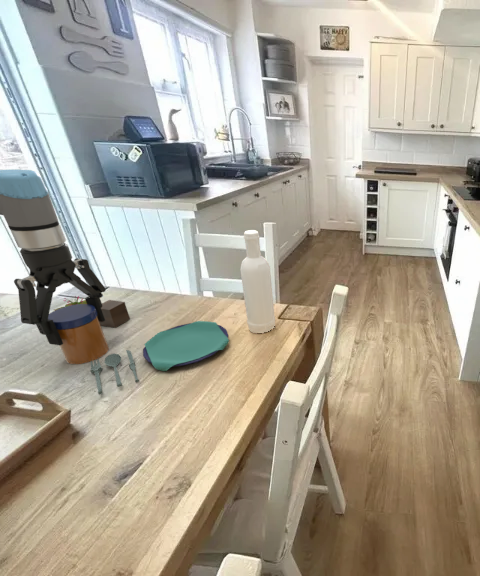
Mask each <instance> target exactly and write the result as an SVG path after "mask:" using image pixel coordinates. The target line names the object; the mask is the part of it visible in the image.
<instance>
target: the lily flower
mask: <svg viewBox="0 0 480 576" xmlns="http://www.w3.org/2000/svg"><path fill="white" fill-rule="evenodd" d="M63 299H64V300H63V302H66V304H65V305H64V306H60V307H57V308H54V309H53V311H55V310H58V309H60V308H63V307H67V306H71V305H77V304H87V303H86V300H85V299H84V298H81V300H79V299H80V295H78V296H77V295H75V296H74V299H73V300H70V299H68V298H66V297H63Z"/></svg>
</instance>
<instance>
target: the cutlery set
mask: <svg viewBox="0 0 480 576" xmlns="http://www.w3.org/2000/svg"><path fill="white" fill-rule="evenodd" d="M229 342H230V340H229V333H228V330H227V328H225V327H223V326H222V325H220V324H218V323H217V322H216V321H206V320H205V321H204V320H197V321H193V322H189V323H184V324H180V325H176V326H174V327H170V328H168V329H165V330H162V331H159V332H156V333H155V334H154V336H152V337H151V338H150V339H149V340H147V341H146V342H145V343H144V348H143V351H142V352H143V353H142V357H143V358H144V359H145V360H146V361H147V362H148V363H150V364H152V366H153V368H154V369H155V370H158V371H162V372H167V371H168V370H169V369H171V368H173V367H182V366H187V365H192V364H195V363H198V362H201V361H204V360H205V359H208V358H210V357H212V356H213V355H215V354H216V353H218V352H220V351H223V350H224V349H225V348H226V347H227V345H229ZM125 352H126V355H127V358H128V361H129V364H128V367H129V369H130V370H131V371H132V374H133V376H134V379H135V380H134V382H135V383H139V382H140V379H139V378H138V375H137V372H136V371H137V370H136V369H137V368H136V367H137V366H136V363H135V361H134V357H133V354H132V352H131V350H129V349H126V351H125ZM121 362H122V356H121V355H120V354H118V353H114V352H113V353H111V354H108V355H107V356H106V357H105V358H104V362H103V363H104V364H105V365H106V366H107V367H111V368H113V370H114V376H115V380H116V386H117V388H120V387H123V383H122V381H121V377H120V375H119V372H118V368H117V367H118V365H119V364H121ZM102 371H103V368H102V365H101V363H100V360H99V358H98V359H96V360H93V361H91V362H90V373H91V374H94V377H95V381H96V382H95V383H96V389H97V393H98V395H99V396H100V395H103V394H104V392H103V388H102V382H101V377H100V372H102Z"/></svg>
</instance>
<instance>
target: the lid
mask: <svg viewBox="0 0 480 576" xmlns="http://www.w3.org/2000/svg"><path fill="white" fill-rule="evenodd" d="M62 307H63V308H60V307H59V308H60V309H58V310H52V312H49V316H48V319H50V320H53V322H54V324H55V326H56V328H57V329H60V330H61V329H70V328H75V327H79V326H82V325H85V324H87V323H89V322H91V321H93V320H94V319H95V318H96V317H97V311H96V309H95V307H94V306H93V305H90V304H77V305H71V306H67V307H65V306H62Z"/></svg>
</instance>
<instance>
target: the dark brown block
mask: <svg viewBox="0 0 480 576" xmlns="http://www.w3.org/2000/svg"><path fill="white" fill-rule="evenodd" d="M101 303H102V307H101V310H102V313H103V316H104V318H105V321H103V322H101V321H99V322H100V325H101V327H107V328H114V329H117V328H118V327H120V326H121V325H123V324H124V323H126V322H128V321H129V320H131V318H130V315H129V312H128V308H127V304H126V302H125V301H121V300H114V299H108V300H106V301H104V302H101Z"/></svg>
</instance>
